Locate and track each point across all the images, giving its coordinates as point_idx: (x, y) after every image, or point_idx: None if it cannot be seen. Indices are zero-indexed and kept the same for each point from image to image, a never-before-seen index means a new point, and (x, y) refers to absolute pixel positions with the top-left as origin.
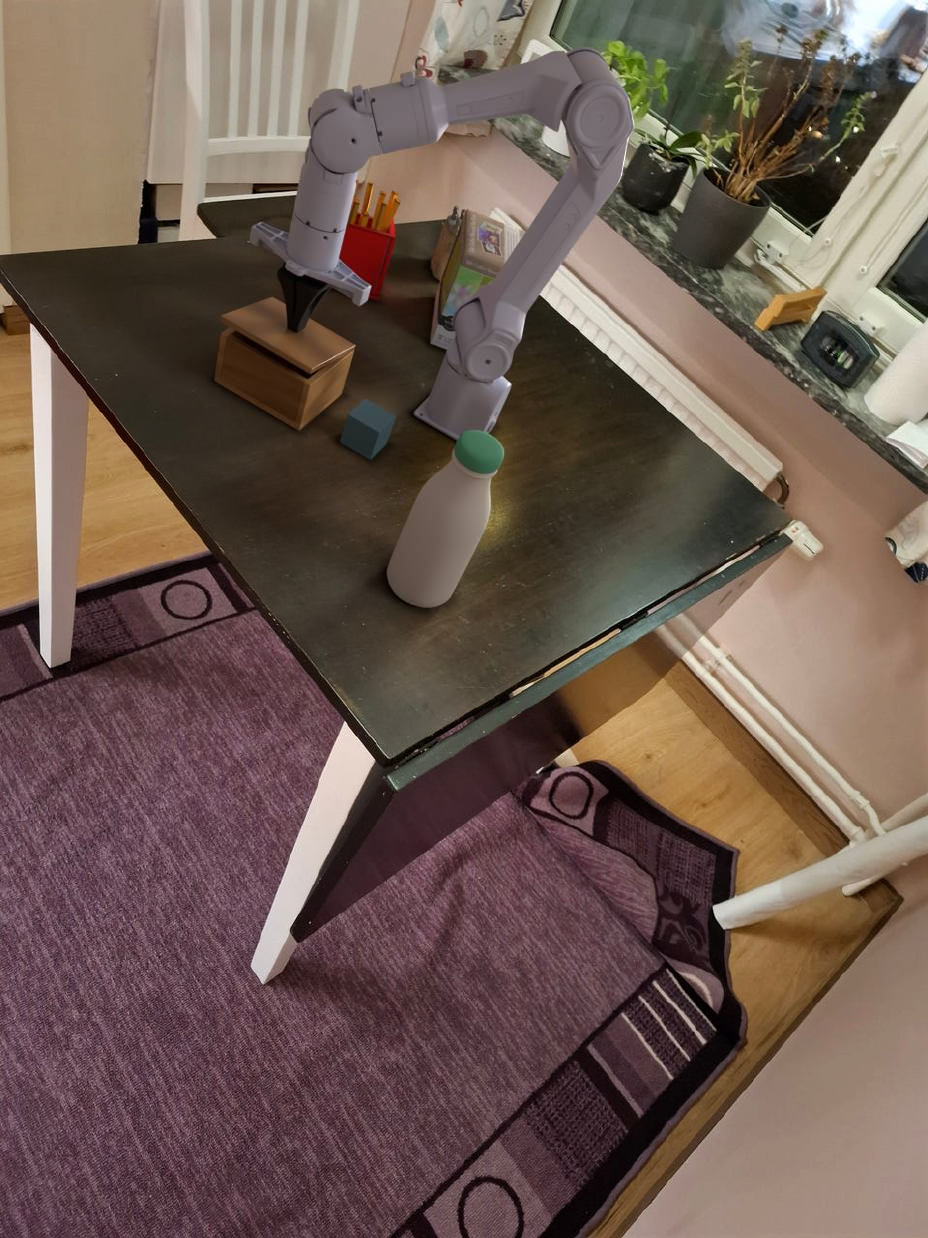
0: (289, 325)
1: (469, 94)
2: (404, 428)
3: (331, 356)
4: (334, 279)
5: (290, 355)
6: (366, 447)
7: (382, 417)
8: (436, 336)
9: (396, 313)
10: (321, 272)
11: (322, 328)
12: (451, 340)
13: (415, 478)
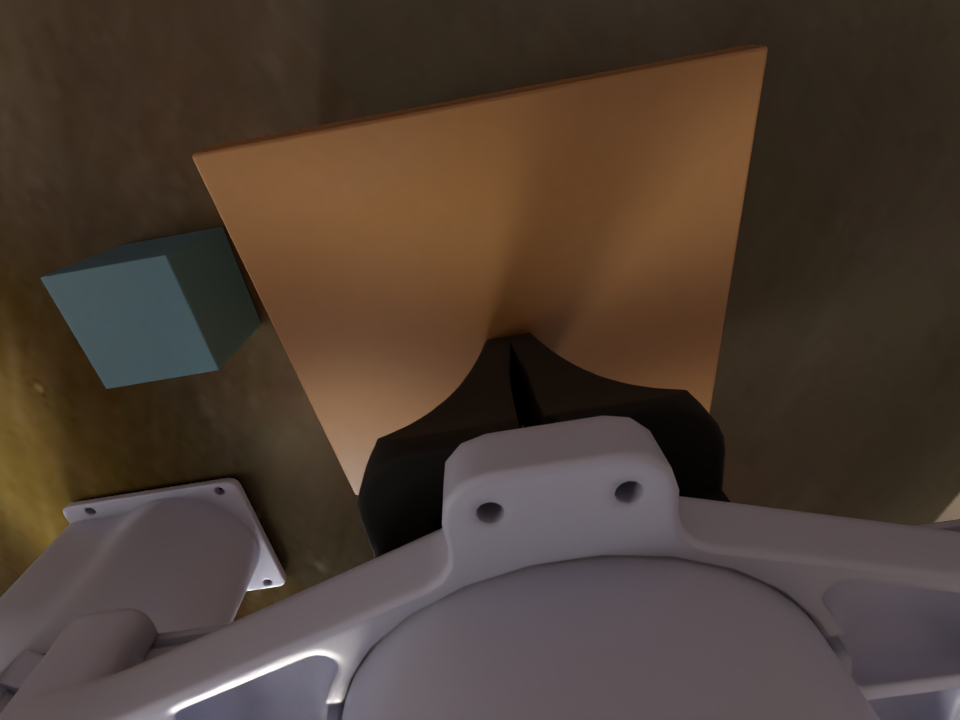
0: (521, 336)
1: None
2: (205, 425)
3: (294, 351)
4: (196, 679)
5: (326, 136)
6: (120, 249)
7: (111, 346)
8: None
9: None
10: (335, 653)
11: None
12: None
13: (10, 300)
